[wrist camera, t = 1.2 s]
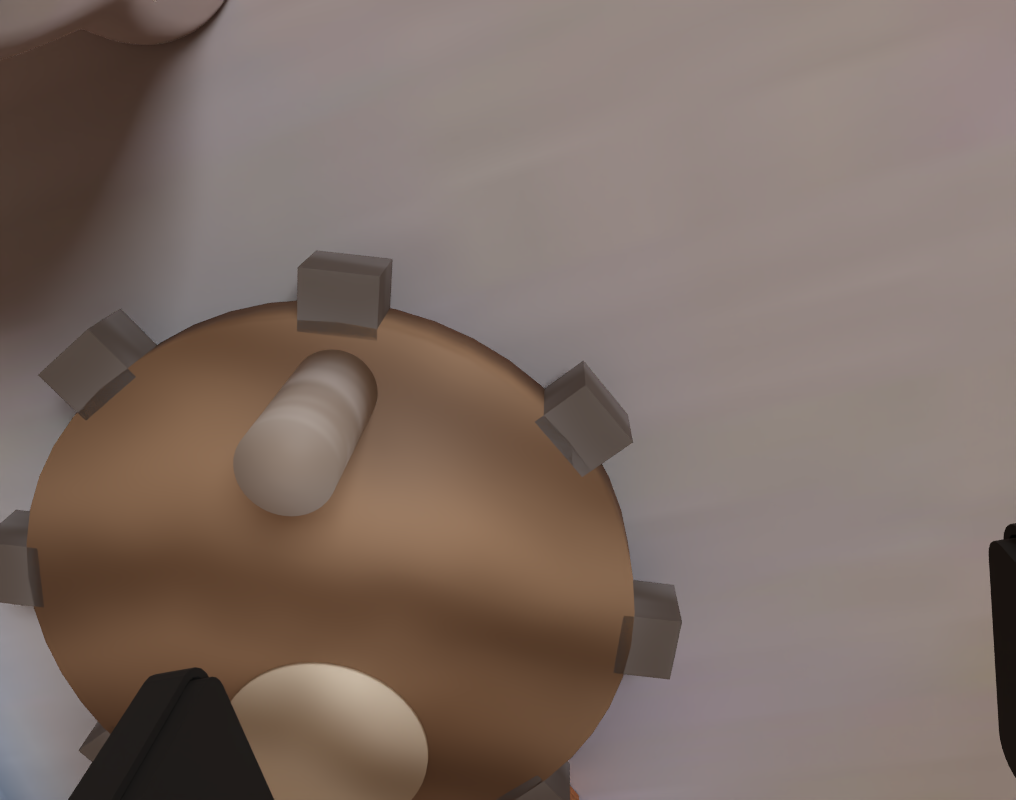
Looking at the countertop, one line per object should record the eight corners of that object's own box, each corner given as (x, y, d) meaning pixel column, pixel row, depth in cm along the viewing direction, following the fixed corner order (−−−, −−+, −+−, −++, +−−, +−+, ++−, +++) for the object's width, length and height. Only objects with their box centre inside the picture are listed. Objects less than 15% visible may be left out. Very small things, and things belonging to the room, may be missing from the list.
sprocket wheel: (619, 850, 34) (634, 1044, 27) (50, 784, 34) (-69, 961, 27) (732, 297, 25) (793, 385, 19) (-22, 212, 26) (-218, 272, 19)
